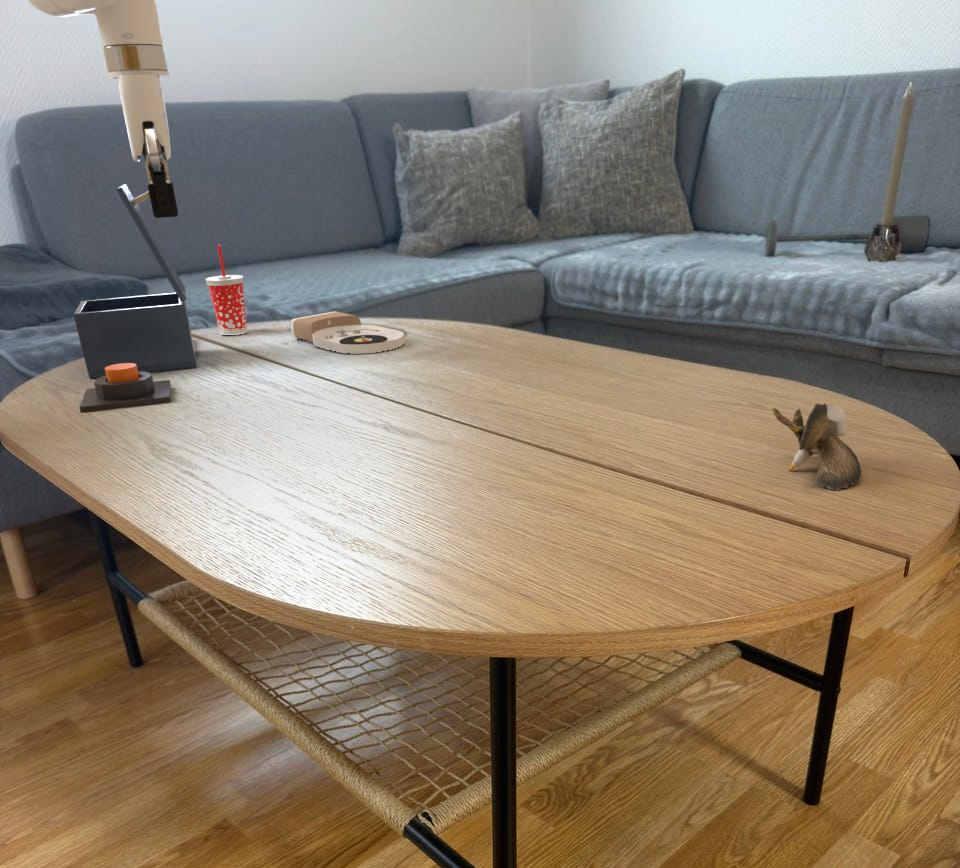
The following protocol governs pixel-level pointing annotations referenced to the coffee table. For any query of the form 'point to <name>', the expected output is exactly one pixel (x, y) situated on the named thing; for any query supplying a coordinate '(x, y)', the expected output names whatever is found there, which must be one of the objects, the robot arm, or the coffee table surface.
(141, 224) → the lid
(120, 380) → the button
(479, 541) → the coffee table surface
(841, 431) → the eagle figurine
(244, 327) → the beverage cup
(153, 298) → the dark grey box
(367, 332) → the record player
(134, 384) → the control block
